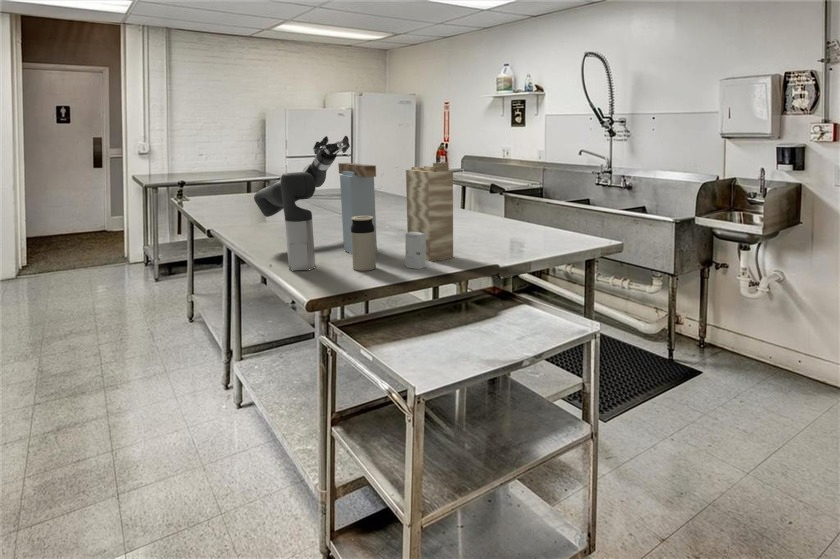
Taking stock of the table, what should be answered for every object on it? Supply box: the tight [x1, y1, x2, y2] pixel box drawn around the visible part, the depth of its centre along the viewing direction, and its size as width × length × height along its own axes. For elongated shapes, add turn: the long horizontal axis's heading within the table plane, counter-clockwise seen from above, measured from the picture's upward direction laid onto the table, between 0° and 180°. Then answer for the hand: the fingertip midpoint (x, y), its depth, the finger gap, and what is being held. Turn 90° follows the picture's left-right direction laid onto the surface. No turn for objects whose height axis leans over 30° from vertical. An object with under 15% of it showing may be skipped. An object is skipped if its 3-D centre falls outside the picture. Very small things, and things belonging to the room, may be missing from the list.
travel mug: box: [351, 216, 377, 272], centre depth 192 cm, size 8×8×18 cm
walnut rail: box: [337, 162, 377, 178], centre depth 213 cm, size 24×4×4 cm, turn 33°
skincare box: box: [405, 232, 426, 270], centre depth 194 cm, size 6×4×12 cm
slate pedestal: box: [339, 171, 378, 255], centre depth 217 cm, size 9×10×32 cm
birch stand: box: [405, 161, 454, 262], centre depth 207 cm, size 16×10×35 cm, turn 33°
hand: (337, 137), depth 223 cm, fingers open, 8 cm apart
